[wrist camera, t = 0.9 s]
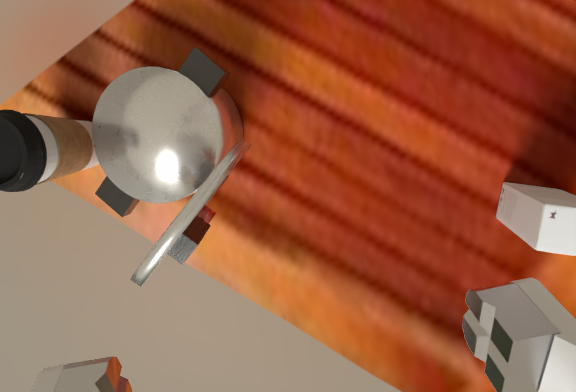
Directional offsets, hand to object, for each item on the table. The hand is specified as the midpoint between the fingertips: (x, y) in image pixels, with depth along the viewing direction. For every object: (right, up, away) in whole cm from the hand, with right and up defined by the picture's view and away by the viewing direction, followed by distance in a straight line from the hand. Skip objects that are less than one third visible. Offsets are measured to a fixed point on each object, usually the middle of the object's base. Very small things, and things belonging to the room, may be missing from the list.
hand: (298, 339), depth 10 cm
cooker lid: (-9, +2, +27) cm, 29 cm away
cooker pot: (-12, +11, +43) cm, 46 cm away
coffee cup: (-26, +10, +46) cm, 54 cm away
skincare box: (+26, +2, +37) cm, 46 cm away
